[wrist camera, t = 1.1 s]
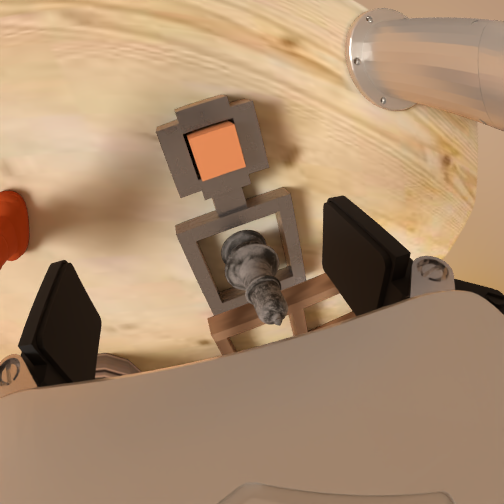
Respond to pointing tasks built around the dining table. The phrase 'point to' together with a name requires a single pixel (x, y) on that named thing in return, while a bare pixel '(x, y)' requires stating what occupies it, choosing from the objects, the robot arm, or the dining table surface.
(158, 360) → the dining table surface
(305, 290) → the walnut rack
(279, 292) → the chess piece
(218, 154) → the button
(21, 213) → the toy drill
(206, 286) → the grey flat frame piece
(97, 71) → the dining table surface
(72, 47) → the dining table surface
